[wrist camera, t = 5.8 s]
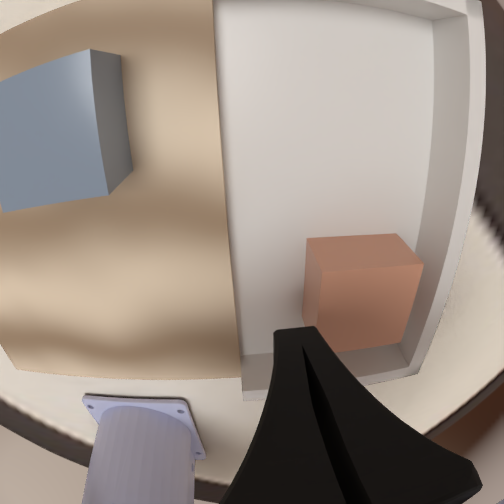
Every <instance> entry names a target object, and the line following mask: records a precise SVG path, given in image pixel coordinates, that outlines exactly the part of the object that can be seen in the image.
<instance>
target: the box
mask: <svg viewBox="0 0 504 504" xmlns="http://www.w3.org/2000/svg"><path fill="white" fill-rule="evenodd" d="M213 10H214V30H215V49H216V66H217V83H218V99H219V114H220V129H221V143H222V156H223V170H224V182H225V195H226V207H227V219H228V231H229V243H230V254H231V265H232V276H233V287H234V297H235V307H236V318H237V328H238V337H239V347H240V358H241V377H242V393H243V401H250V400H263V399H266V398H267V394H268V390H269V386H270V382H271V376H272V370H273V332H275V331H276V330H278V329H288V328H298V327H305V326H304V322H303V319H302V306H303V292H304V276H305V259H306V239H307V238H317V237H335V236H354V235H374V234H394V233H396V234H397V235H398V236H399V237H400V238H401V239H402V240H403V241H404V242H405V243H406V244H407V245H408V246H409V247H410V249H411V250H412V251H413V252H414V253H415V254H416V255H417V256H418V257H419V258H420V260H421V261H422V262H423V263H424V266H423V270H422V274H421V278H420V281H419V285H418V289H417V292H416V296H415V299H414V302H413V306H412V309H411V312H410V315H409V319H408V322H407V325H406V328H405V331H404V334H403V337H402V340H401V342H400V343H394V344H389V345H383V346H377V347H371V348H365V349H358V350H351V351H344V352H337V353H335V354H336V355H337V357H338V358H339V359H340V360H341V361H342V363H343V364H344V365H345V366H346V367H347V369H348V370H349V371H350V372H351V373H352V374H353V375H354V377H355V378H356V379H357V380H358V381H359V382H360V383H361V384H362V385H363V386H365V385H370V384H375V383H380V382H385V381H389V380H394V379H398V378H403V377H407V376H411V375H415V374H418V372H419V370H420V368H421V365H422V363H423V361H424V358H425V356H426V354H427V351H428V349H429V347H430V344H431V342H432V339H433V337H434V334H435V332H436V329H437V327H438V324H439V321H440V319H441V316H442V313H443V310H444V307H445V305H446V302H447V299H448V296H449V293H450V290H451V286H452V283H453V280H454V277H455V274H456V270H457V267H458V263H459V260H460V256H461V252H462V249H463V245H464V241H465V237H466V233H467V228H468V224H469V220H470V215H471V210H472V205H473V200H474V195H475V189H476V183H477V177H478V171H479V164H480V156H481V148H482V139H483V128H484V114H485V93H486V55H485V35H484V22H483V12H482V3H481V2H480V1H478V0H213Z"/></svg>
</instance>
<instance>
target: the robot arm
mask: <svg viewBox="0 0 504 504" xmlns="http://www.w3.org/2000/svg"><path fill="white" fill-rule="evenodd" d="M82 402H83V404H84V405H85V406H86V408H87V409H88V411H89V412H90V414H91V415H92V416H93V418H94V419H95V420H96V422H97V423H98V425H99V426H98V430H97V434H96V438H95V443H94V447H93V451H92V455H91V460H90V465H89V469H88V474H87V479H86V484H85V489H84V494H83V500H82V504H194V474H195V460H204V459H206V453H205V450H204V448H203V445H202V443H201V440H200V438H199V435H198V432H197V430H196V427H195V425H194V422H193V419H192V416H191V414H190V411H189V408H188V405H187V403H186V402H185V401H183V400H168V399H132V398H114V397H100V396H88V395H85V396H83V398H82ZM482 486H483V485H482V482H481V480H480V477H479V475H478V472H477V470H476V469H475V467H474V465H473V463H472V462H471V461H470V460H468V459H466V458H464V457H461V456H459V455H457V454H455V453H453V452H451V451H449V450H447V449H445V448H443V447H441V446H440V445H438V444H436V443H435V442H433V441H431V440H430V439H428V438H426V437H425V436H423V435H422V434H420V433H419V432H417V431H416V430H415V429H413V428H412V427H410V426H409V425H407V424H406V423H404V422H403V421H402V420H401V419H399V418H398V417H397V416H396V415H394V414H393V413H392V412H391V411H389V410H388V409H387V408H386V407H385V406H384V405H383V404H381V403H380V402H379V401H378V400H377V399H376V398H375V397H374V396H373V395H372V394H371V393H370V392H369V391H368V390H367V389H366V388H365V387H364V386H363V385H362V384H361V383H360V382H359V381H358V380H357V379H356V378H355V377H354V375H353V374H352V373H351V372H350V371H349V370H348V369H347V367H346V366H345V365H344V364H343V363H342V361H341V360H340V359H339V358H338V357H337V355H336V354H335V353H334V351H333V350H332V349H331V348H330V346H329V345H328V343H327V342H326V341H325V339H324V338H323V337H322V335H321V334H320V332H319V331H318V329H317V328H316V327H315V326H307V327H298V328H288V329H278V330H276V331H275V332H273V370H272V376H271V382H270V386H269V390H268V394H267V398H266V402H265V405H264V409H263V412H262V415H261V418H260V421H259V424H258V427H257V430H256V432H255V435H254V437H253V440H252V442H251V444H250V447H249V449H248V451H247V454H246V456H245V458H244V460H243V462H242V464H241V466H240V468H239V470H238V472H237V474H236V476H235V478H234V479H233V481H232V483H231V485H230V487H229V488H228V490H227V492H226V493H225V495H224V497H223V498H222V500H221V501H220V503H219V504H462V503H464V502H465V501H466V500H468V499H469V498H471V497H472V496H473V495H475V494H476V493H477V492H479V491H480V490H481V488H482ZM497 504H504V499H503V500H502V501H500V502H499V503H497Z"/></svg>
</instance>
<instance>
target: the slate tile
mask: <svg viewBox="0 0 504 504" xmlns="http://www.w3.org/2000/svg"><path fill="white" fill-rule="evenodd" d="M132 172H133V164H132V158H131V151H130V144H129V136H128V128H127V120H126V112H125V102H124V92H123V81H122V69H121V55H118V54H113V53H108V52H103V51H98V50H93V49H88V50H84V51H81V52H78V53H74V54H71V55H68V56H65V57H62V58H59V59H56V60H53V61H50V62H47V63H44V64H42V65H39V66H36V67H34V68H31V69H29V70H26V71H24V72H21V73H19V74H17V75H14V76H12V77H10V78H7V79H5V80H3V81H1V82H0V204H1V207H2V211H3V213H5V212H10V211H15V210H21V209H26V208H31V207H37V206H43V205H48V204H54V203H60V202H67V201H73V200H80V199H86V198H93V197H100V196H107V195H110V194H111V193H112V192H113V191H114V190H115V188H116V187H117V186H118V185H119V184H120V183H121V182H122V181H123V180H124V179H125V178H126V177H127V176H128V175H129V174H130V173H132Z"/></svg>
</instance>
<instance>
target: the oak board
mask: <svg viewBox="0 0 504 504" xmlns="http://www.w3.org/2000/svg"><path fill="white" fill-rule="evenodd" d="M88 49H93V50H98V51H103V52H108V53H113V54H118V55H121V69H122V81H123V92H124V102H125V112H126V120H127V128H128V136H129V144H130V151H131V158H132V164H133V172H132V173H130V174H129V175H128V176H127V177H126V178H125V179H124V180H123V181H122V182H121V183H120V184H119V185H118V186H117V187H116V188H115V190H114V191H113V192H112V193H111V194H110V195H107V196H100V197H93V198H86V199H80V200H73V201H67V202H60V203H54V204H48V205H43V206H37V207H31V208H26V209H21V210H15V211H10V212H5V213H3V211H2V207H1V204H0V344H1V346H2V347H3V349H4V351H5V352H6V354H7V355H8V357H9V359H10V360H11V362H12V363H13V365H14V366H15V368H16V369H17V370H24V371H32V372H40V373H48V374H58V375H68V376H80V377H94V378H112V379H141V380H188V379H218V378H236V377H241V358H240V347H239V337H238V328H237V318H236V307H235V297H234V287H233V276H232V265H231V254H230V243H229V231H228V219H227V207H226V195H225V182H224V170H223V156H222V143H221V129H220V114H219V99H218V83H217V66H216V49H215V30H214V10H213V0H80V1H77V2H74V3H71V4H68V5H65V6H63V7H60V8H57V9H55V10H52V11H50V12H47V13H45V14H42V15H40V16H38V17H35V18H33V19H31V20H28V21H26V22H24V23H22V24H20V25H18V26H16V27H14V28H11V29H9V30H7V31H5V32H4V33H2V34H0V82H1V81H3V80H5V79H7V78H10V77H12V76H14V75H17V74H19V73H21V72H24V71H26V70H29V69H31V68H34V67H36V66H39V65H42V64H44V63H47V62H50V61H53V60H56V59H59V58H62V57H65V56H68V55H71V54H74V53H78V52H81V51H84V50H88Z"/></svg>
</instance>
